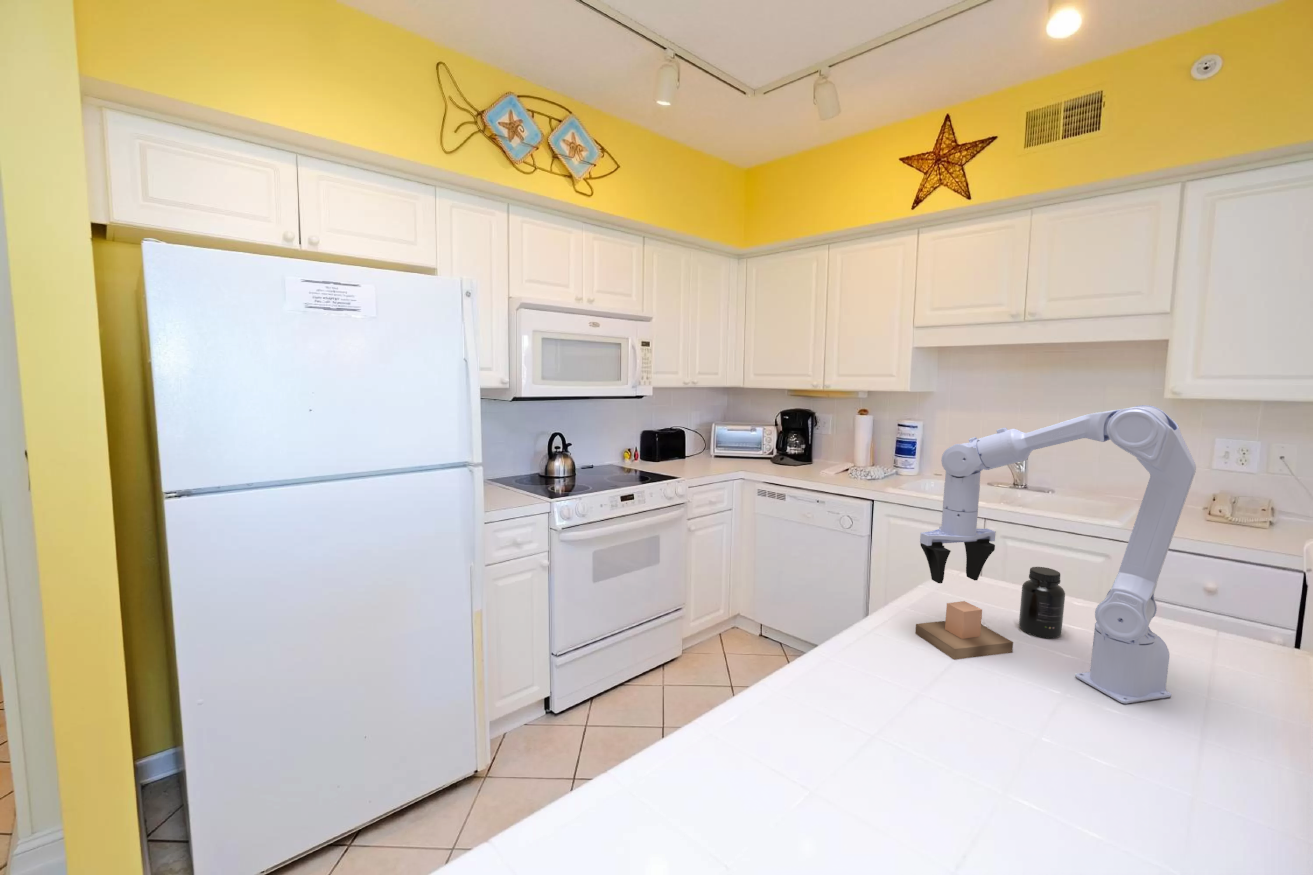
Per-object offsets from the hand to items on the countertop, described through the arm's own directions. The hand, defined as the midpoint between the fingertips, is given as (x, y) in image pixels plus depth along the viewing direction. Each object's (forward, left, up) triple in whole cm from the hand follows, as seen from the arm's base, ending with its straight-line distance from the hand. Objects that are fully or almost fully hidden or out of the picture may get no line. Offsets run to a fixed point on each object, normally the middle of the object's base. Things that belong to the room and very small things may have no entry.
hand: (954, 579), depth 107 cm
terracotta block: (+1, +4, -9) cm, 9 cm away
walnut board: (0, +3, -11) cm, 12 cm away
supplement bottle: (-18, +2, -11) cm, 21 cm away
